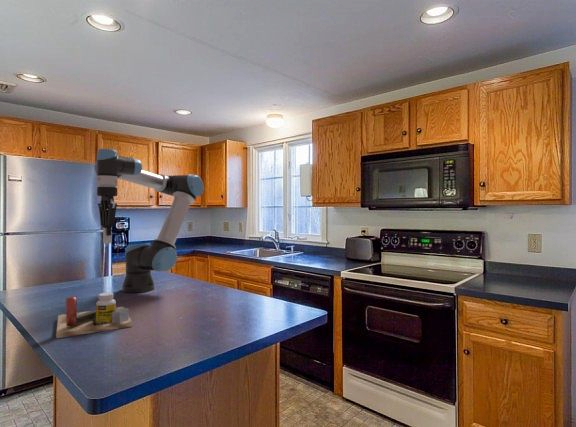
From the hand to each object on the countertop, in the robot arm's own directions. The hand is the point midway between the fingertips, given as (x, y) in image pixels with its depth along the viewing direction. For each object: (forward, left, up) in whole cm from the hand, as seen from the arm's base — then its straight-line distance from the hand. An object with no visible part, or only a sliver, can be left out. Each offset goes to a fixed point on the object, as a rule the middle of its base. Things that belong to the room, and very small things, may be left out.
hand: (107, 243), depth 147 cm
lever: (+8, +23, -24) cm, 34 cm away
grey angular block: (-2, +29, -26) cm, 40 cm away
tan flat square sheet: (+6, +21, -26) cm, 34 cm away
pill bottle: (+3, +26, -27) cm, 37 cm away
